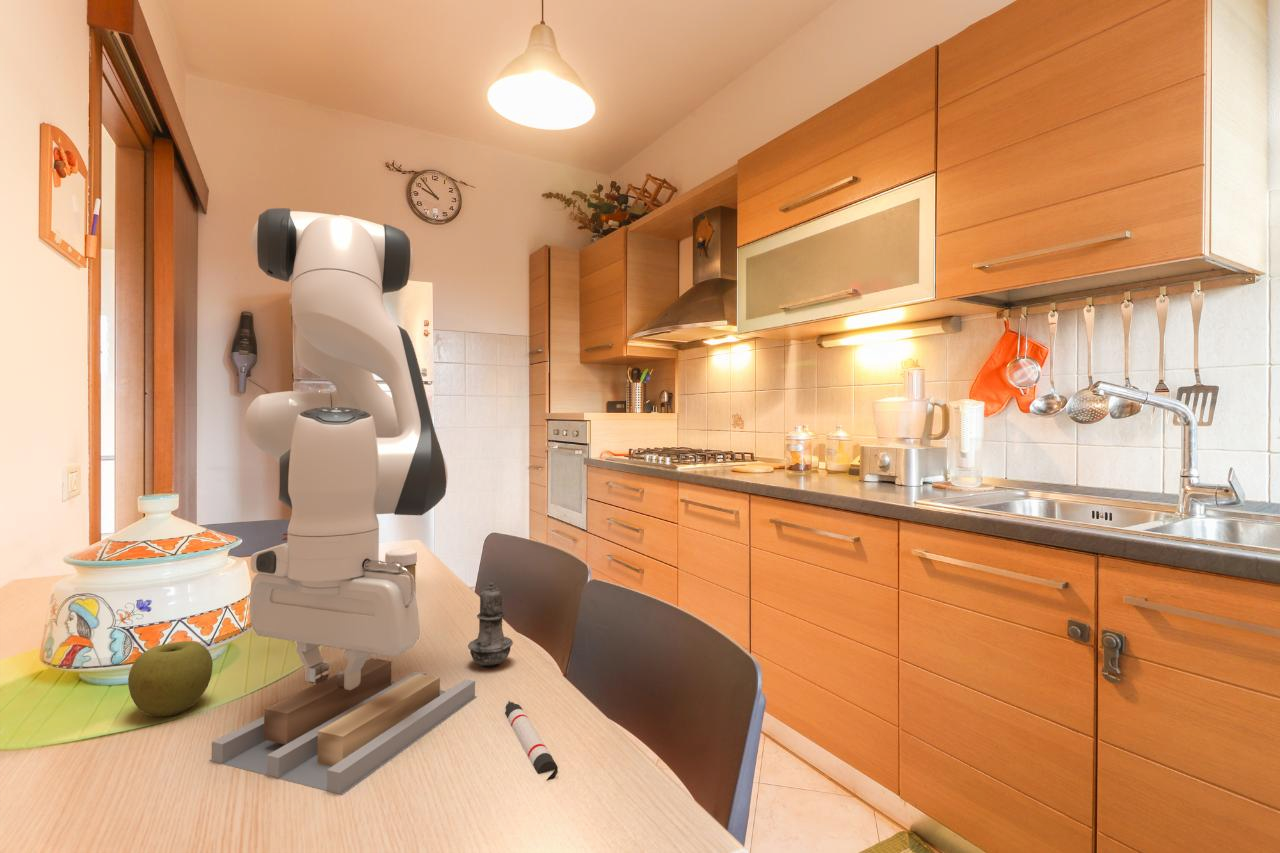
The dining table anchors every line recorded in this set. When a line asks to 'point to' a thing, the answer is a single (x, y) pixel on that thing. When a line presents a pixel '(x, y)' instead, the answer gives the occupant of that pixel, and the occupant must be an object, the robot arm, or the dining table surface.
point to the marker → (530, 740)
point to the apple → (170, 677)
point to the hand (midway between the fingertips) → (332, 684)
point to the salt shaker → (490, 630)
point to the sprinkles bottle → (404, 560)
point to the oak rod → (375, 718)
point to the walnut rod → (322, 703)
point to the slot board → (302, 753)
